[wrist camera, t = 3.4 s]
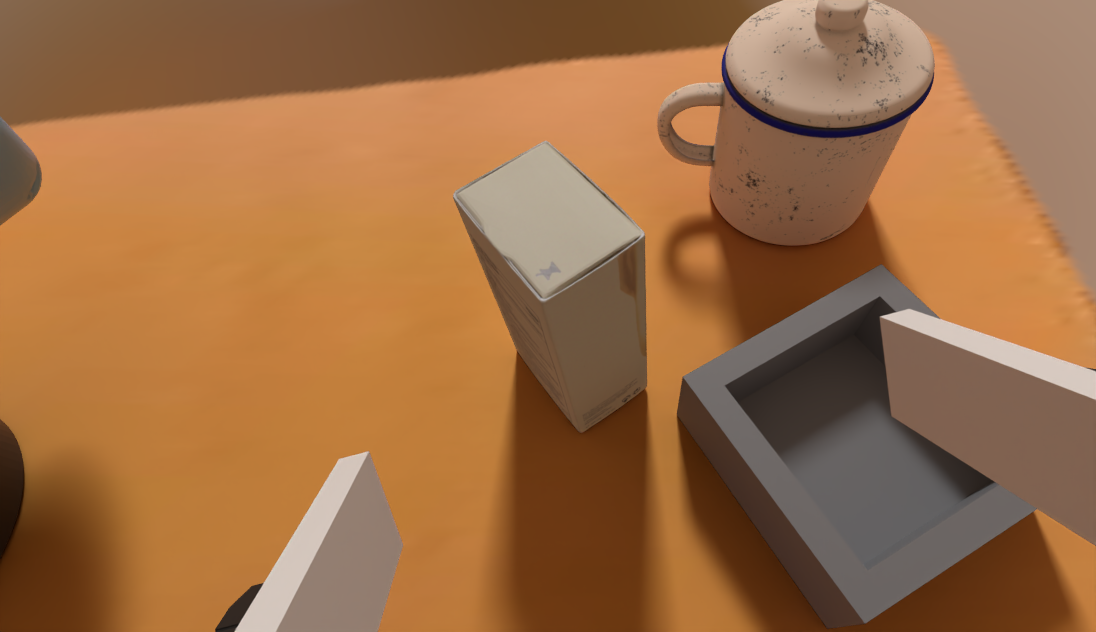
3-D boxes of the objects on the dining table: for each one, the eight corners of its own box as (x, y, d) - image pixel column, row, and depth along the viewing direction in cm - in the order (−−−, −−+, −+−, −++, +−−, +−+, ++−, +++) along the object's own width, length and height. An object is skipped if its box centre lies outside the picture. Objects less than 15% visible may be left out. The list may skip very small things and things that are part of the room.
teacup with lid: (857, 132, 36) (943, -71, 26) (880, 255, 31) (994, 67, 21) (657, 135, 38) (664, -52, 28) (652, 249, 33) (658, 76, 23)
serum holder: (827, 628, 23) (865, 623, 19) (676, 414, 28) (682, 376, 25) (1028, 496, 25) (1100, 466, 21) (849, 314, 30) (881, 264, 26)
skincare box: (650, 387, 29) (657, 238, 19) (579, 437, 28) (546, 311, 18) (576, 301, 32) (546, 131, 22) (510, 344, 32) (447, 189, 21)
